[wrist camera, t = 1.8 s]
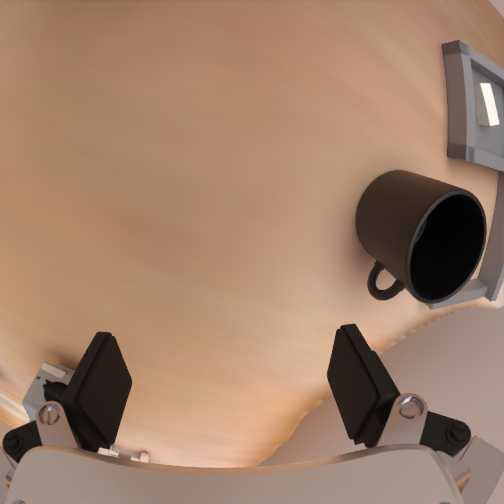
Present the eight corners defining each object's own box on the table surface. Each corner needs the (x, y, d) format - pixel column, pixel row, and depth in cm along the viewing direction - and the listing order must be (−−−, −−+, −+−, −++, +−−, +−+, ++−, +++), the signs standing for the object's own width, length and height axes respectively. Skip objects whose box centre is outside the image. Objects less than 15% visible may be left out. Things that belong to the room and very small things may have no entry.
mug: (319, 247, 25) (357, 299, 17) (392, 149, 22) (458, 161, 14) (377, 291, 28) (419, 342, 20) (440, 208, 25) (497, 237, 16)
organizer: (441, 44, 17) (464, 38, 13) (503, 81, 18) (523, 81, 14) (420, 298, 29) (437, 316, 25) (480, 286, 30) (495, 299, 26)
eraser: (468, 84, 18) (480, 83, 16) (478, 83, 18) (489, 83, 16) (478, 124, 20) (490, 126, 18) (488, 122, 20) (499, 124, 18)
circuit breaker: (102, 355, 29) (64, 451, 15) (104, 408, 34) (83, 483, 20) (54, 334, 28) (5, 418, 14) (65, 392, 32) (37, 461, 19)
